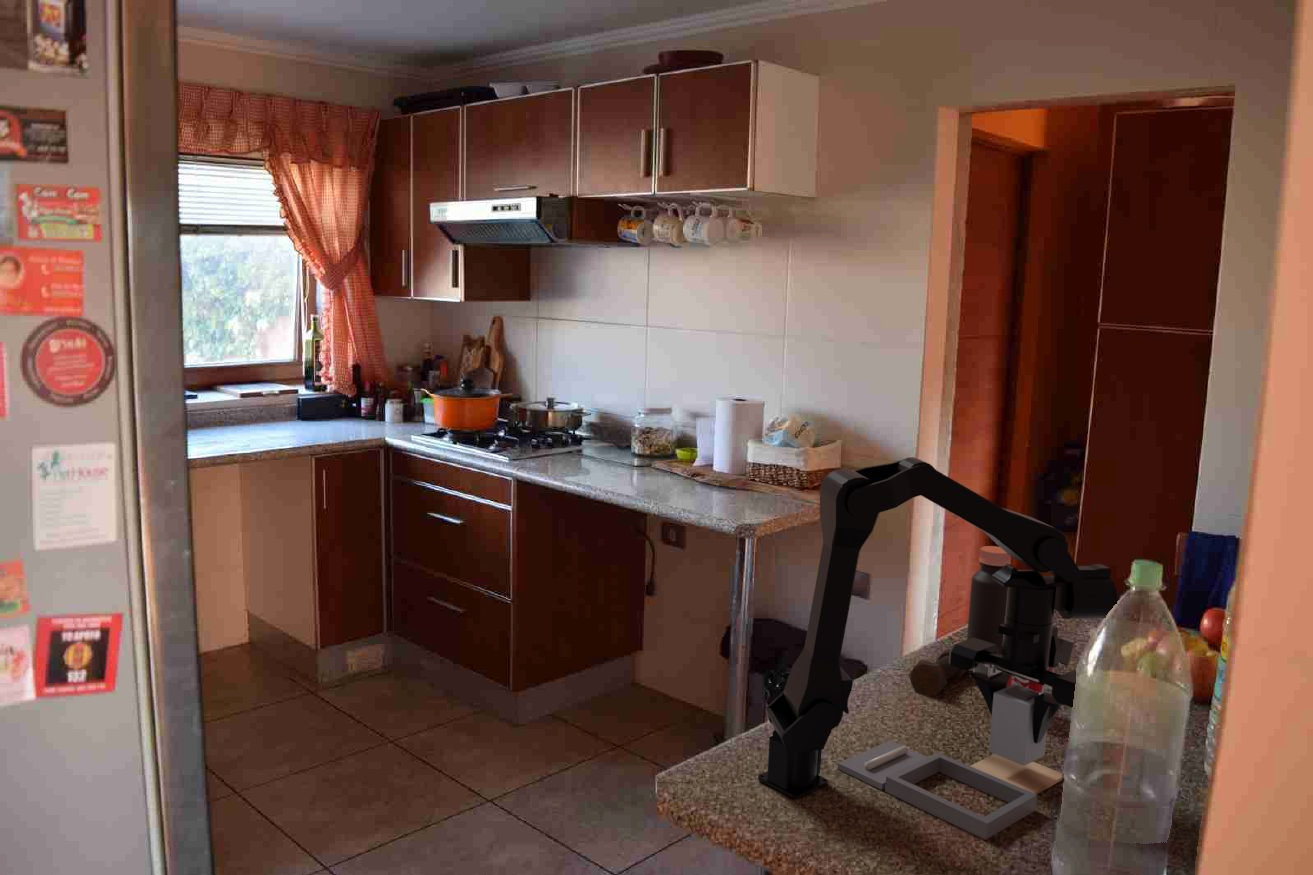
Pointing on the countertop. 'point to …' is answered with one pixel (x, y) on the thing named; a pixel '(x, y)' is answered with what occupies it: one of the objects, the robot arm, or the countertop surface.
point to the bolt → (933, 675)
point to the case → (907, 767)
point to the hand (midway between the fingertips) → (1018, 735)
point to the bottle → (988, 598)
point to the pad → (1019, 773)
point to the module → (1015, 725)
